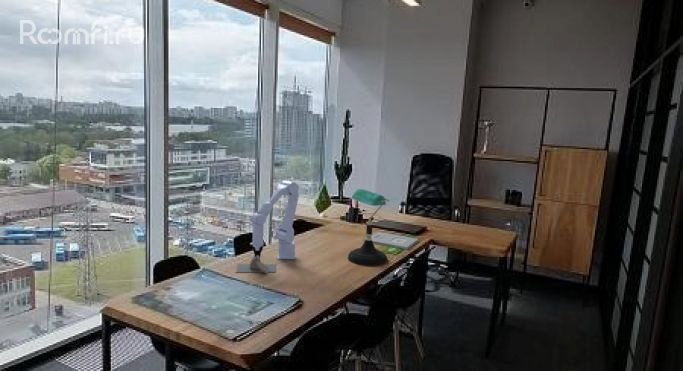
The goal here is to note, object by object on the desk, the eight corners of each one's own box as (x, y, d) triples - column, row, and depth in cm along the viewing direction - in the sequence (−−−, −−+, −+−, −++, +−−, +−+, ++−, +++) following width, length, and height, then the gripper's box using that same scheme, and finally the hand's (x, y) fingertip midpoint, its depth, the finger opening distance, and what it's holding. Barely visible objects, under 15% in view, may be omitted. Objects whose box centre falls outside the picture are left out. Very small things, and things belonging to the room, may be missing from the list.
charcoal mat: (275, 264, 234) (275, 264, 234) (275, 272, 222) (275, 271, 222) (238, 264, 231) (238, 264, 231) (236, 272, 219) (236, 272, 219)
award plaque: (377, 234, 310) (378, 231, 310) (418, 241, 297) (418, 238, 297) (363, 242, 288) (364, 239, 288) (406, 250, 275) (406, 247, 275)
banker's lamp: (339, 254, 258) (342, 188, 252) (372, 251, 268) (376, 187, 262) (361, 268, 234) (366, 196, 229) (396, 264, 245) (401, 195, 239)
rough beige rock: (258, 275, 217) (259, 261, 216) (246, 266, 228) (247, 253, 227) (269, 273, 220) (269, 260, 219) (257, 264, 232) (257, 251, 231)
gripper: (251, 231, 240) (250, 255, 242) (249, 238, 226) (249, 263, 228) (263, 231, 241) (263, 255, 243) (263, 239, 227) (262, 263, 229)
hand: (257, 259), depth 235 cm, fingers closed
